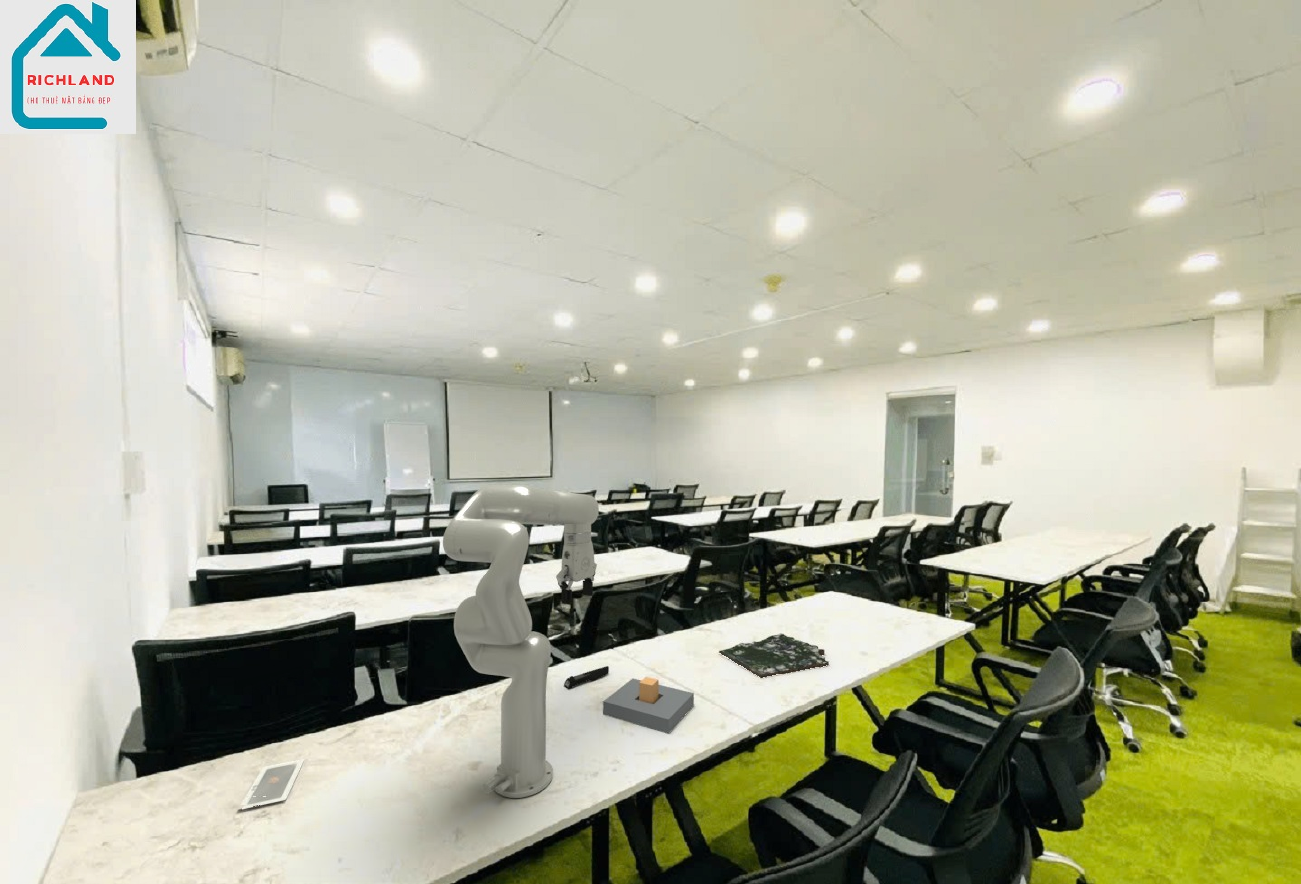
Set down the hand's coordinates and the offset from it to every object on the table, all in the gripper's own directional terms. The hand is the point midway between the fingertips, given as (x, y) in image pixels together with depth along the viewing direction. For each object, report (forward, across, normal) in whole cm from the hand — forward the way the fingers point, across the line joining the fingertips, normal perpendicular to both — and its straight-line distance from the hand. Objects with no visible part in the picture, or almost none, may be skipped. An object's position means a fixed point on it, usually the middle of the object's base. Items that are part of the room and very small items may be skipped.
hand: (577, 599), depth 138 cm
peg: (+30, +9, -18) cm, 36 cm away
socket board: (+30, +9, -18) cm, 36 cm away
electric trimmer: (+31, +16, +8) cm, 36 cm away
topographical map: (+31, +62, -41) cm, 81 cm away
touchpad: (+31, -57, +38) cm, 75 cm away
